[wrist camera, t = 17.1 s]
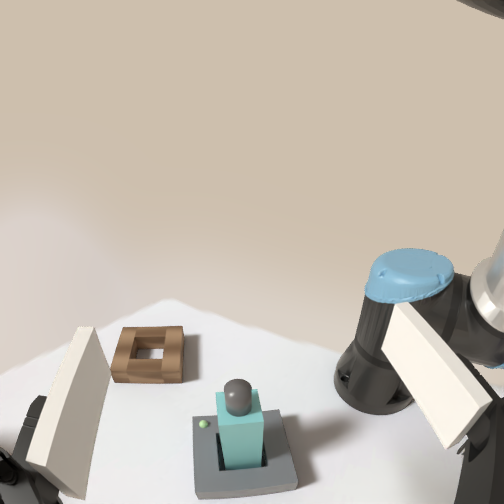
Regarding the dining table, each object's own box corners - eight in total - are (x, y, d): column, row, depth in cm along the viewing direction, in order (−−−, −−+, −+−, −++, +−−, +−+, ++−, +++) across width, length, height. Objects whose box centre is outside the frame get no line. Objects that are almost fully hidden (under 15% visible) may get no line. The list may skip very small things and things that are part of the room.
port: (195, 427, 38) (191, 413, 36) (277, 420, 39) (279, 406, 38) (198, 499, 27) (194, 490, 25) (295, 489, 28) (299, 480, 27)
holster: (126, 338, 55) (122, 327, 54) (184, 337, 57) (182, 325, 55) (114, 382, 44) (109, 370, 43) (182, 383, 46) (179, 371, 44)
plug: (223, 447, 35) (213, 374, 28) (255, 444, 35) (257, 370, 29) (226, 474, 31) (215, 408, 24) (260, 471, 31) (264, 404, 25)
